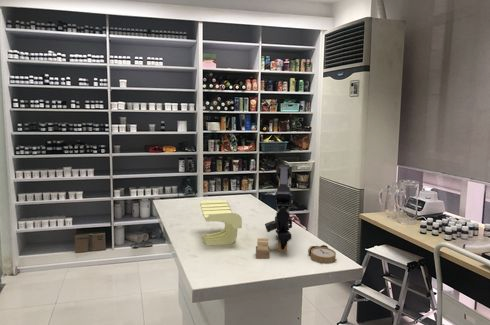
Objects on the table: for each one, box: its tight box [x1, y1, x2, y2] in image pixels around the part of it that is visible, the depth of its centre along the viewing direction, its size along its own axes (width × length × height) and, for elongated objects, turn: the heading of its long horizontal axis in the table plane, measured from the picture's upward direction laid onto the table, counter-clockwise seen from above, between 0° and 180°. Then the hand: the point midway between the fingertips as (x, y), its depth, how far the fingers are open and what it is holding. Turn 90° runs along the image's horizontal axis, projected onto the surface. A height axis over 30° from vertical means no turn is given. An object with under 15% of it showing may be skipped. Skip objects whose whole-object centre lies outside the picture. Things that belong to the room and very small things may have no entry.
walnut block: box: [255, 245, 271, 260], centre depth 179 cm, size 6×6×4 cm
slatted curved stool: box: [199, 199, 243, 246], centre depth 201 cm, size 30×16×18 cm, turn 14°
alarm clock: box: [307, 244, 337, 264], centre depth 178 cm, size 11×5×15 cm
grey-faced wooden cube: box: [276, 239, 288, 252], centre depth 188 cm, size 4×4×5 cm
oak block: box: [256, 237, 269, 250], centre depth 178 cm, size 5×5×4 cm
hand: (282, 247), depth 188 cm, fingers closed on grey-faced wooden cube, 4 cm apart
